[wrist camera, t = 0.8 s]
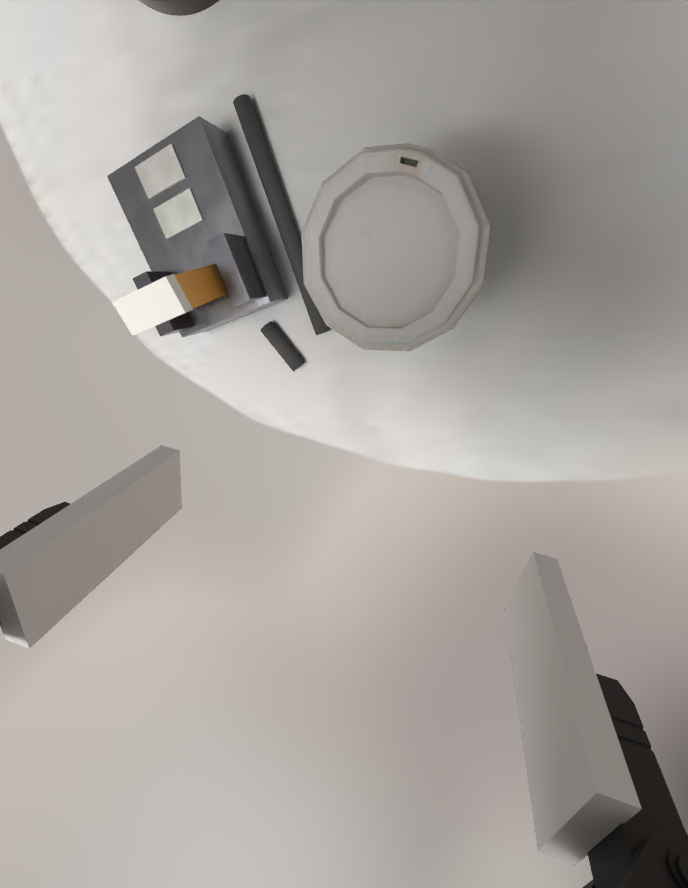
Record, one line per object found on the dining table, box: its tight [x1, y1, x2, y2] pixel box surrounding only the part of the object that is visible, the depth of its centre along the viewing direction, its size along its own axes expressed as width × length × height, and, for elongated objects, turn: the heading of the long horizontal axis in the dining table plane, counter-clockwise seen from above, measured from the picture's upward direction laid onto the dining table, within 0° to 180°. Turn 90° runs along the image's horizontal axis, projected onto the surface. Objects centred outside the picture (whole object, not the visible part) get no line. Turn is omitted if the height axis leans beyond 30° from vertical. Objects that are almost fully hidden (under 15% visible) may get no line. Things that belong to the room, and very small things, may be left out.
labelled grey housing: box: [107, 116, 288, 337], centre depth 34 cm, size 14×10×7 cm
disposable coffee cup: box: [301, 144, 491, 351], centre depth 27 cm, size 11×11×15 cm
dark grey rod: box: [233, 94, 330, 335], centre depth 34 cm, size 19×1×1 cm, turn 20°
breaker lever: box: [112, 264, 228, 335], centre depth 31 cm, size 2×6×8 cm, turn 110°
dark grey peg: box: [261, 322, 304, 371], centre depth 39 cm, size 5×1×1 cm, turn 40°
